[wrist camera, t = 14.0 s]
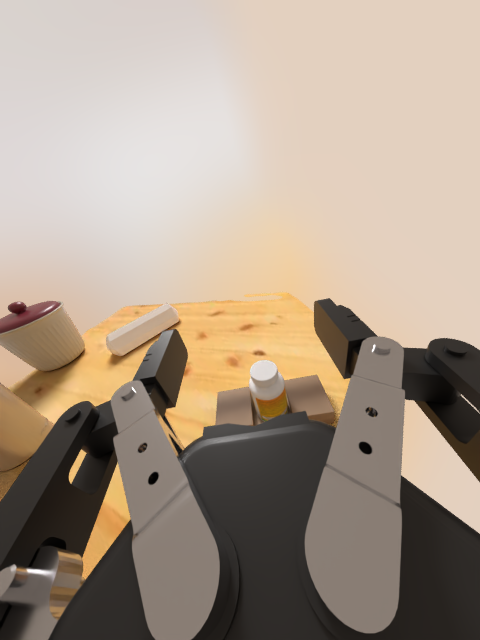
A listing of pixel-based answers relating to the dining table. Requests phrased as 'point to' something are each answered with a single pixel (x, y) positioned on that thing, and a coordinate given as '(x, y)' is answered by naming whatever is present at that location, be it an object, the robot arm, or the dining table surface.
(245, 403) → the brown wooden cradle
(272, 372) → the supplement bottle
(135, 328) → the crystal
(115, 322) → the dining table surface
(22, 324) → the canister
